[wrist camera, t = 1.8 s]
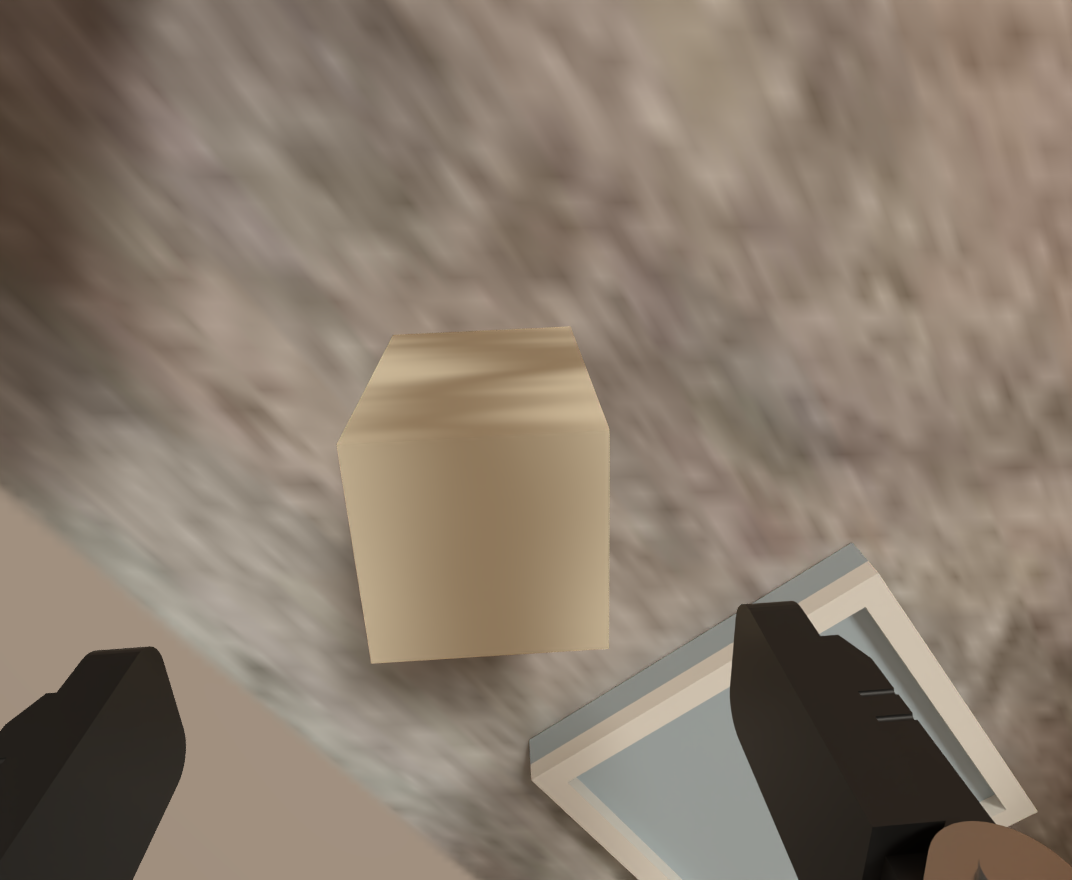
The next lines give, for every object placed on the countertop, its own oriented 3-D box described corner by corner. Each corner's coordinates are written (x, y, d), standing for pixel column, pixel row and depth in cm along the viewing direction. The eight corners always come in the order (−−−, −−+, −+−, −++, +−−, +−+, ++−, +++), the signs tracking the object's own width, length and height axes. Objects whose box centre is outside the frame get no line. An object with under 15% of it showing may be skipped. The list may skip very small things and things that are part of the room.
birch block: (570, 326, 18) (609, 430, 12) (573, 483, 20) (608, 648, 14) (393, 334, 18) (337, 444, 12) (411, 492, 20) (371, 663, 14)
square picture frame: (852, 542, 21) (878, 572, 20) (1006, 772, 25) (1038, 811, 24) (529, 740, 24) (531, 780, 22) (717, 920, 28) (730, 965, 26)
